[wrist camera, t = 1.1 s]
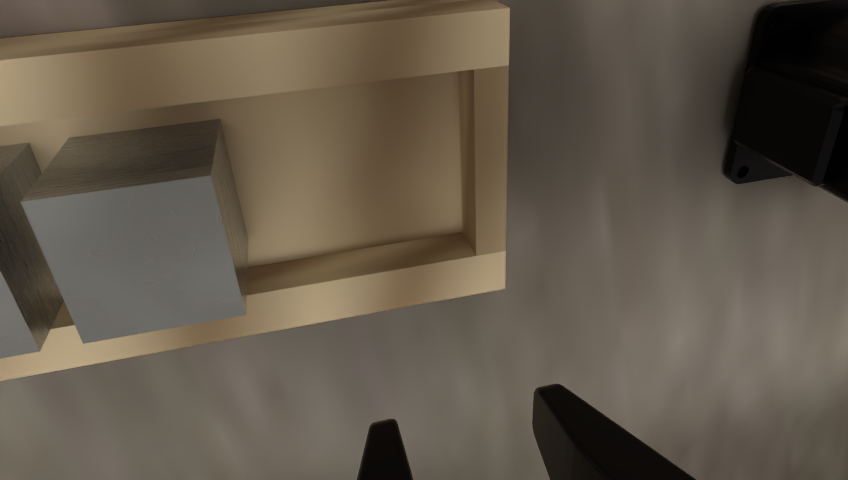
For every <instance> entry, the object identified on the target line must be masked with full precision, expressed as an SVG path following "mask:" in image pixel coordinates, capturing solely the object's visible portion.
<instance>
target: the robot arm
mask: <svg viewBox="0 0 848 480" xmlns="http://www.w3.org/2000/svg"><path fill="white" fill-rule="evenodd" d="M775 15H776V20H775V22H774V23H773V24H772V25H771V21H772V19H773V17H774V16H775ZM740 167H742V168H741V170H740V171H739V172H738V173H737V171H738V169H739V168H740ZM724 175H725V177H726V178H728V179H729V180H731V181H732V182H734V183H736V184H742V183H748V182H754V181H760V180H766V179H773V178H779V177H785V176H791V175H794V176H796V177H798V178H800V179H802V180H803V181H805V182H807V183H809V184H811V185H813V186H818V187H820V188H822V189H824V190H826V191H828V192H829V193H831V194H833V195H835V196H837V197H839V198H840V199H842V200H844V201H846V202H848V0H803V1H794V2H785V3H776V4H771V5H768V6H766V7H765V8H764V9H763V10H762V11H761V12H760V14H759V15H758V18H757V21H756V25H755V30H754V34H753V39H752V44H751V48H750V53H749V57H748V62H747V67H746V71H745V76H744V81H743V85H742V90H741V95H740V99H739V104H738V109H737V113H736V118H735V123H734V127H733V132H732V136H731V141H730V146H729V150H728V155H727V160H726V164H725V169H724ZM532 425H533V432H534V435H535V439H536V441H537V444H538V447H539V450H540V452H541V455H542V458H543V461H544V464H545V466H546V469H547V472H548V475H549V477H550V480H696V479H695V478H693V477H692V476H690V475H689V474H687V473H686V472H685V471H683V470H682V469H680V468H679V467H678V466H676V465H675V464H673V463H672V462H670V461H669V460H668V459H666V458H665V457H663V456H662V455H660V454H659V453H658V452H656V451H655V450H653V449H652V448H651V447H649V446H648V445H646V444H645V443H643V442H642V441H641V440H639V439H638V438H636V437H635V436H633V435H632V434H631V433H629V432H628V431H626V430H625V429H624V428H622V427H621V426H619V425H618V424H616V423H615V422H614V421H612V420H611V419H609V418H608V417H606V416H605V415H604V414H602V413H601V412H599V411H598V410H597V409H595V408H594V407H592V406H591V405H589V404H588V403H587V402H585V401H584V400H582V399H581V398H579V397H578V396H577V395H575V394H574V393H572V392H571V391H570V390H568V389H567V388H565V387H564V386H562V385H560V384H552V385H547V386H542V387H538V388H537V389H536V390H535V392H534V400H533V420H532ZM357 480H413V477H412V473H411V469H410V466H409V462H408V459H407V455H406V452H405V448H404V445H403V441H402V438H401V434H400V430H399V427H398V424H397V421H396V420H395V419H387V420H383V421H378V422H374V423H372V424H371V425H370V427H369V431H368V435H367V440H366V444H365V448H364V452H363V456H362V461H361V465H360V469H359V473H358V477H357Z"/></svg>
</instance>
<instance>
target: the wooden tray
mask: <svg viewBox="0 0 848 480" xmlns="http://www.w3.org/2000/svg"><path fill="white" fill-rule="evenodd" d="M509 35H510V8H509V7H507V6H505V5H503V4H501V3H499V2H497V1H495V0H389V1H379V2H368V3H358V4H348V5H338V6H327V7H317V8H307V9H297V10H286V11H276V12H266V13H256V14H245V15H235V16H225V17H215V18H204V19H194V20H184V21H174V22H163V23H153V24H143V25H133V26H122V27H112V28H102V29H92V30H81V31H71V32H61V33H51V34H40V35H30V36H20V37H10V38H0V146H5V145H13V144H21V143H30V146H31V148H32V150H33V153H34V155H35V158H36V160H37V163H38V165H39V168H40V170H41V172H42V173H43V171H44V170H45V169H46V167H47V166H48V165H49V163H50V162H51V161H52V159H53V158H54V157H55V155H56V154H57V153H58V151H59V150H60V149H61V147H62V146H63V145H64V143H65V142H66V141H67V139H68V138H69V137H77V136H85V135H93V134H101V133H110V132H118V131H126V130H134V129H142V128H150V127H158V126H166V125H174V124H182V123H190V122H198V121H206V120H214V119H220V120H221V124H222V128H223V133H224V137H225V141H226V146H227V150H228V154H229V158H230V163H231V167H232V171H233V175H234V180H235V184H236V188H237V193H238V197H239V201H240V205H241V210H242V214H243V218H244V222H245V227H246V231H247V235H248V240H249V243H248V274H247V305H246V315H243V316H238V317H232V318H226V319H221V320H215V321H209V322H204V323H198V324H193V325H187V326H181V327H176V328H170V329H164V330H159V331H153V332H147V333H142V334H136V335H130V336H125V337H119V338H114V339H108V340H102V341H97V342H91V343H85V344H83V343H82V340H81V338H80V336H79V334H78V331H77V329H76V327H75V324H74V322H73V320H72V318H71V315H70V313H69V311H68V309H67V306H66V304H65V302H63V304H62V306H61V308H60V310H59V312H58V314H57V317H56V319H55V321H54V323H53V325H52V327H51V329H50V331H49V334H48V336H47V338H46V340H45V342H44V344H43V346H42V348H41V351H40V352H35V353H29V354H23V355H18V356H12V357H6V358H1V359H0V381H3V380H9V379H14V378H19V377H25V376H30V375H36V374H41V373H47V372H52V371H58V370H63V369H69V368H74V367H80V366H85V365H91V364H96V363H101V362H107V361H112V360H118V359H123V358H129V357H134V356H140V355H145V354H151V353H156V352H162V351H167V350H173V349H178V348H183V347H189V346H194V345H200V344H205V343H211V342H216V341H222V340H227V339H233V338H238V337H244V336H249V335H255V334H260V333H265V332H271V331H276V330H282V329H287V328H293V327H298V326H304V325H309V324H315V323H320V322H326V321H331V320H337V319H342V318H348V317H353V316H358V315H364V314H369V313H375V312H380V311H386V310H391V309H397V308H402V307H408V306H413V305H419V304H424V303H430V302H435V301H440V300H446V299H451V298H457V297H462V296H468V295H473V294H479V293H484V292H490V291H495V290H501V289H505V268H506V210H507V151H508V93H509Z"/></svg>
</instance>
